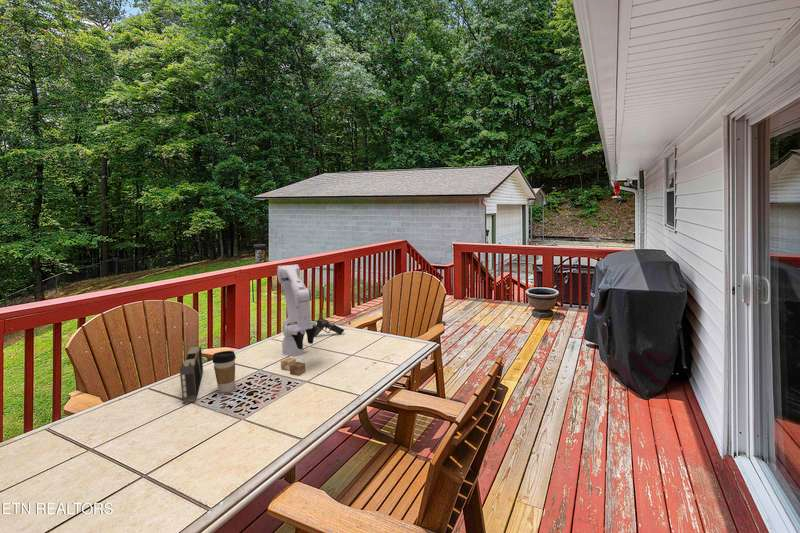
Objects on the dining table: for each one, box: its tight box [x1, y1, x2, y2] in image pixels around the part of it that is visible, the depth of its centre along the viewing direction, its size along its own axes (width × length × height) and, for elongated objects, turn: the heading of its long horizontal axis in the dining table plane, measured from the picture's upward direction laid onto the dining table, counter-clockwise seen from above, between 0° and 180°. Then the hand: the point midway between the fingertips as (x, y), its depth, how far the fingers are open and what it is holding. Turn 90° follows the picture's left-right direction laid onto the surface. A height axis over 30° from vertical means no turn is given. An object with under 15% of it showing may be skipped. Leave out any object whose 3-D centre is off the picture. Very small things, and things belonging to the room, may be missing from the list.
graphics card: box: [179, 346, 204, 405], centre depth 163 cm, size 33×5×14 cm, turn 21°
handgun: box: [314, 317, 345, 338], centre depth 227 cm, size 17×2×12 cm
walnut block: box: [289, 361, 306, 377], centre depth 173 cm, size 4×4×4 cm
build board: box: [287, 370, 309, 378], centre depth 175 cm, size 14×11×1 cm
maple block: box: [280, 357, 297, 372], centre depth 179 cm, size 4×4×4 cm
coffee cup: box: [211, 350, 236, 394], centre depth 159 cm, size 8×8×15 cm
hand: (305, 346), depth 180 cm, fingers open, 7 cm apart
